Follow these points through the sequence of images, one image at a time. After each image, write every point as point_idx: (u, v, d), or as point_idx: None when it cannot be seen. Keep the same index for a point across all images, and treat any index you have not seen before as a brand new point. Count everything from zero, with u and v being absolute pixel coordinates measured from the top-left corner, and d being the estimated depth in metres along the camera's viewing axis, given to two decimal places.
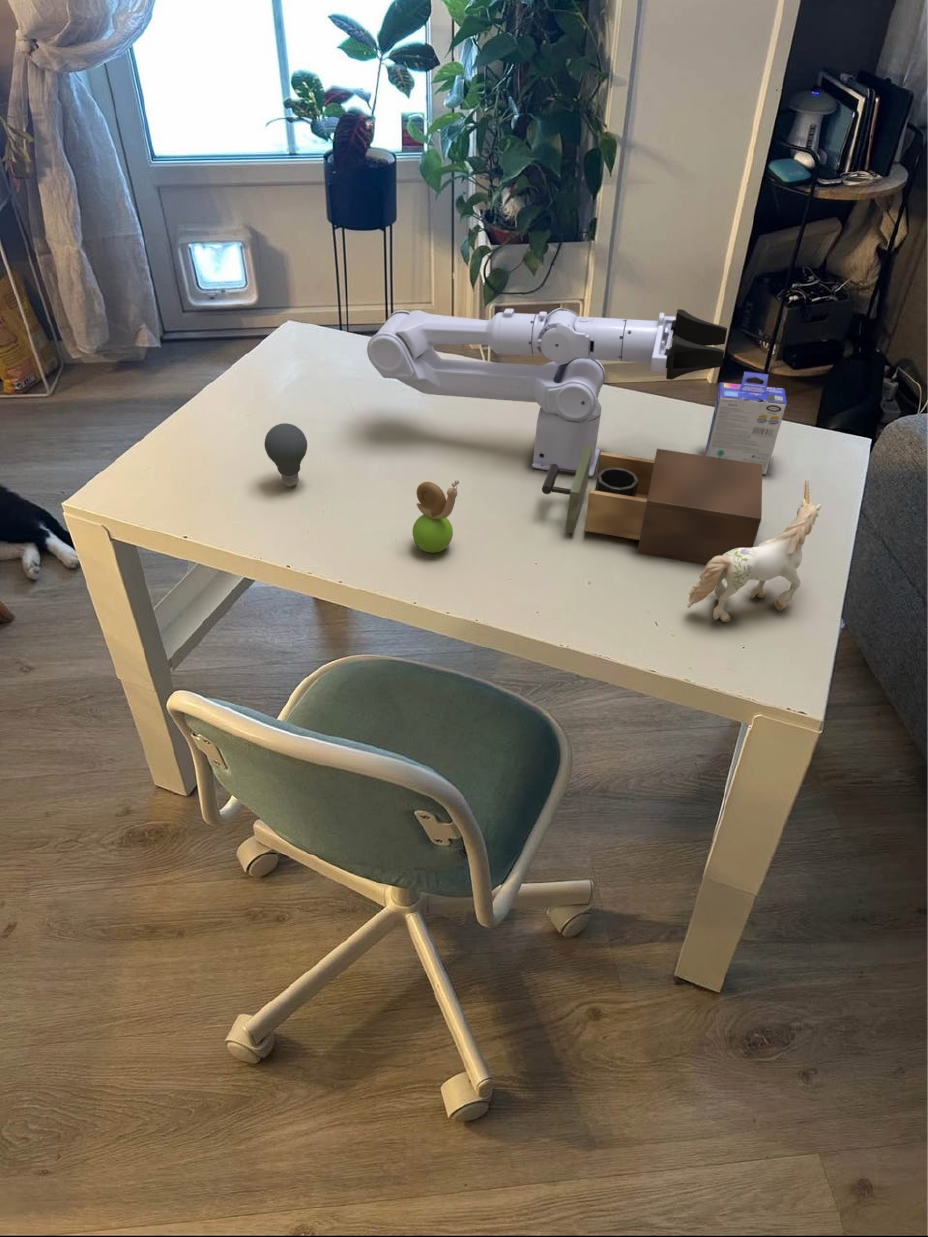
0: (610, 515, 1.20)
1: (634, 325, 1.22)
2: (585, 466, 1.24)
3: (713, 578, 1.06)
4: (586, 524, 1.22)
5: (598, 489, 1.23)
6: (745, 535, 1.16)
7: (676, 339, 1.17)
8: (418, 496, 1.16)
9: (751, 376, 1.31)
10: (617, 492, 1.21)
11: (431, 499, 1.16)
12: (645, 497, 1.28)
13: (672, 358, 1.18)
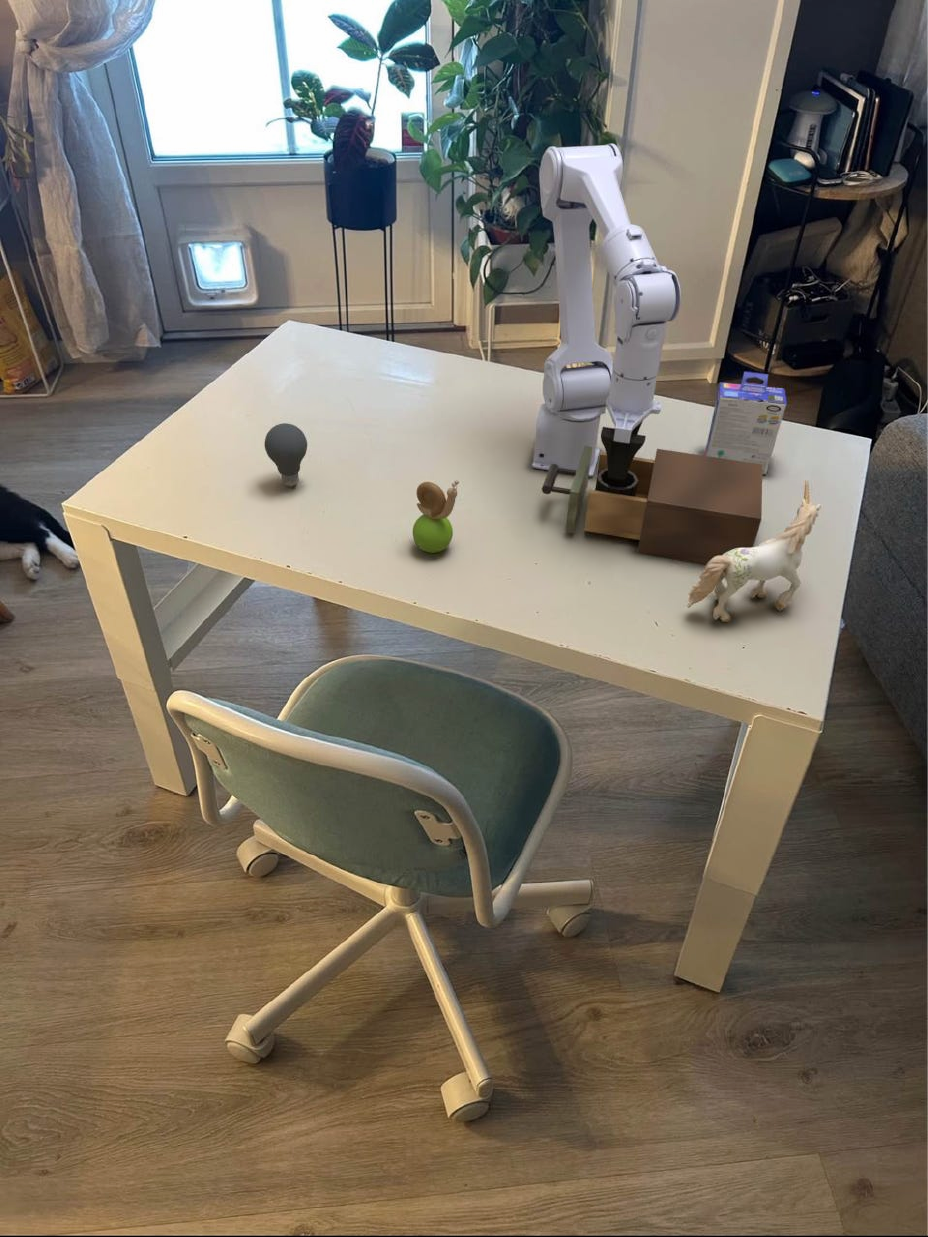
0: (610, 515, 1.20)
1: (653, 385, 1.12)
2: (585, 466, 1.24)
3: (713, 578, 1.06)
4: (586, 524, 1.22)
5: (598, 489, 1.23)
6: (745, 535, 1.16)
7: None
8: (418, 496, 1.16)
9: (751, 376, 1.31)
10: (617, 492, 1.21)
11: (431, 499, 1.16)
12: (645, 497, 1.28)
13: (625, 443, 1.12)
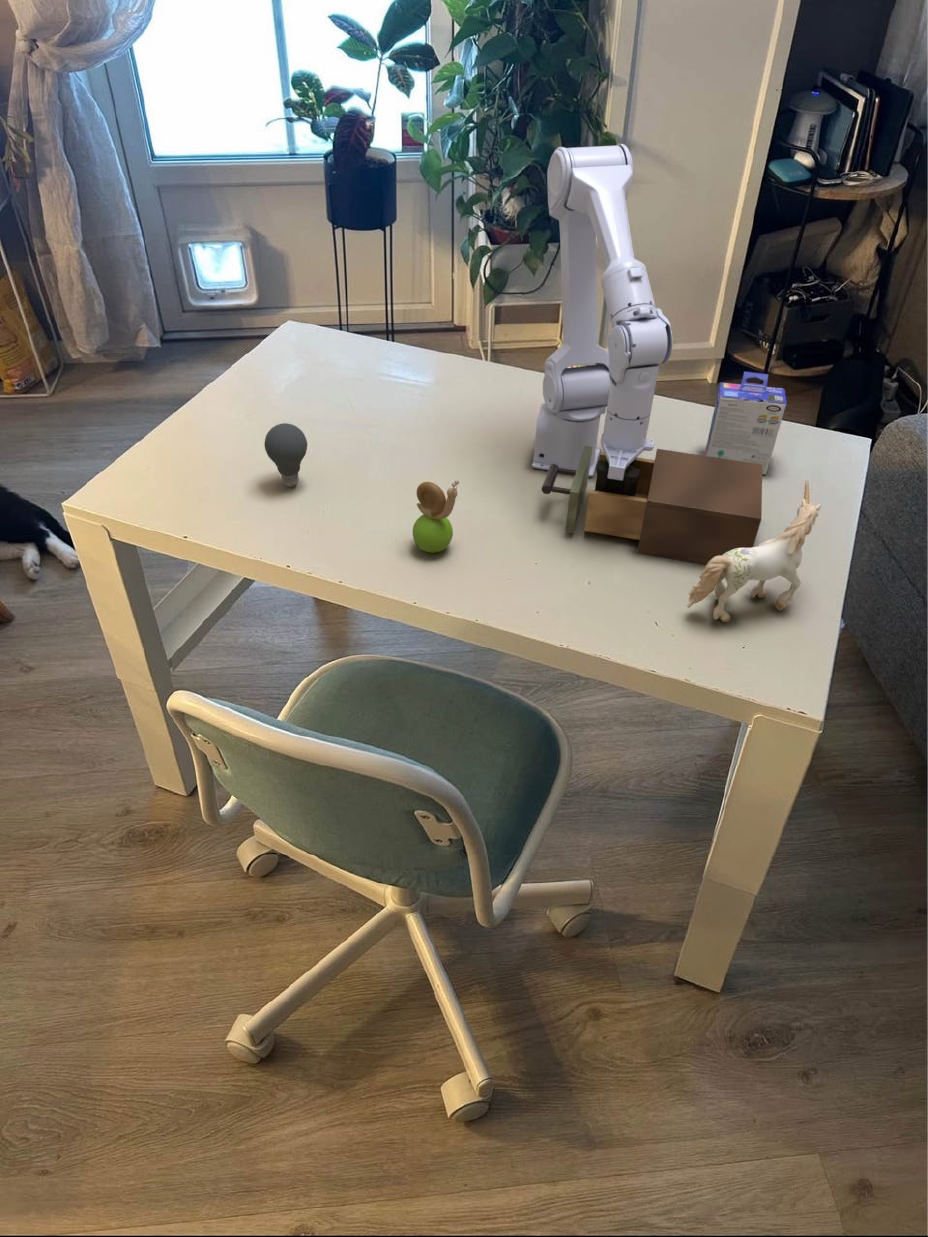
0: (610, 515, 1.20)
1: (646, 424, 1.15)
2: (585, 466, 1.24)
3: (713, 578, 1.06)
4: (586, 524, 1.22)
5: (598, 483, 1.22)
6: (745, 535, 1.16)
7: None
8: (418, 496, 1.16)
9: (751, 376, 1.31)
10: None
11: (431, 499, 1.16)
12: (645, 497, 1.28)
13: None
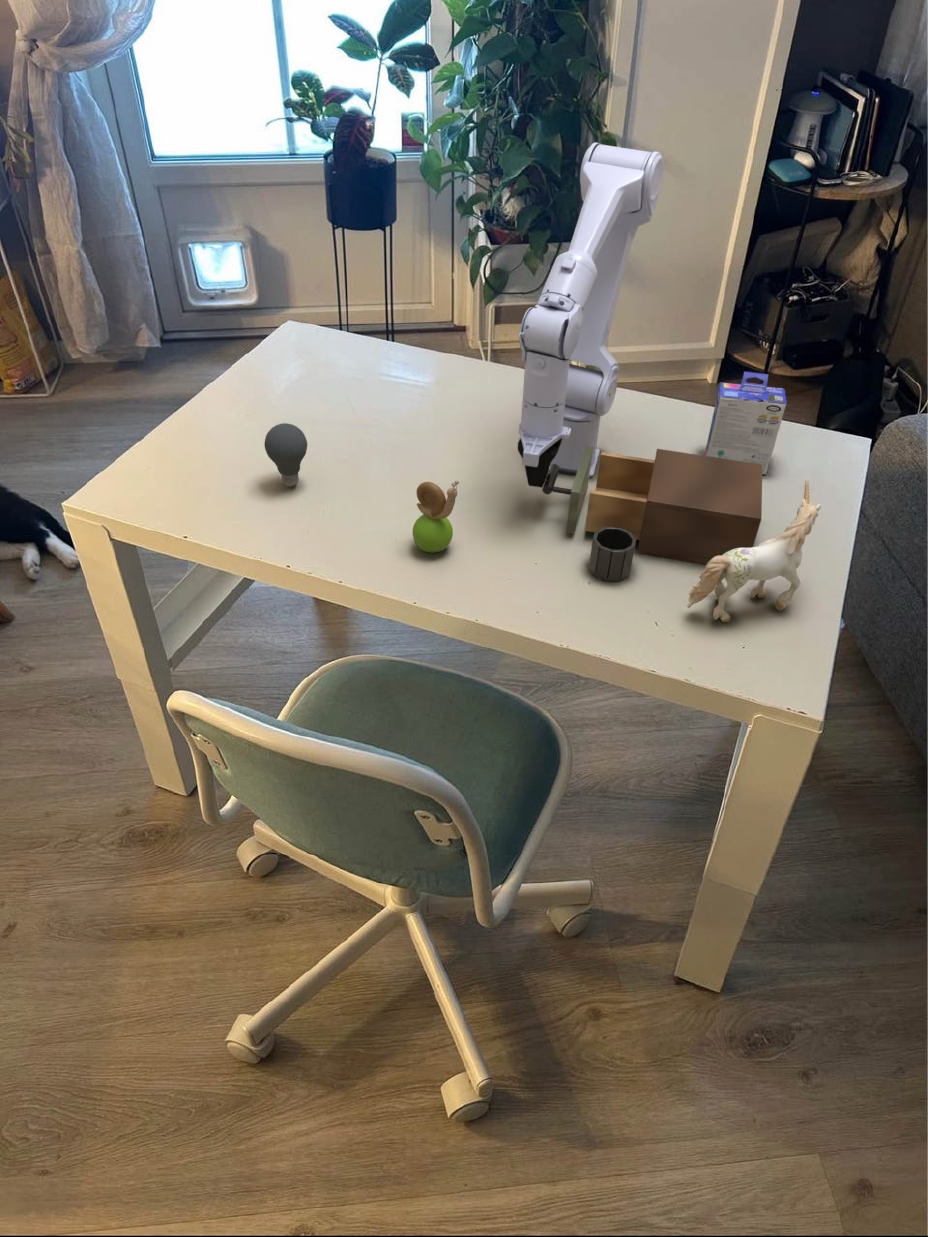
0: (610, 516, 1.20)
1: (561, 412, 1.17)
2: (586, 466, 1.24)
3: (713, 578, 1.06)
4: (587, 524, 1.22)
5: None
6: (745, 535, 1.16)
7: None
8: (418, 496, 1.16)
9: (751, 376, 1.31)
10: None
11: (431, 499, 1.16)
12: (646, 497, 1.28)
13: None
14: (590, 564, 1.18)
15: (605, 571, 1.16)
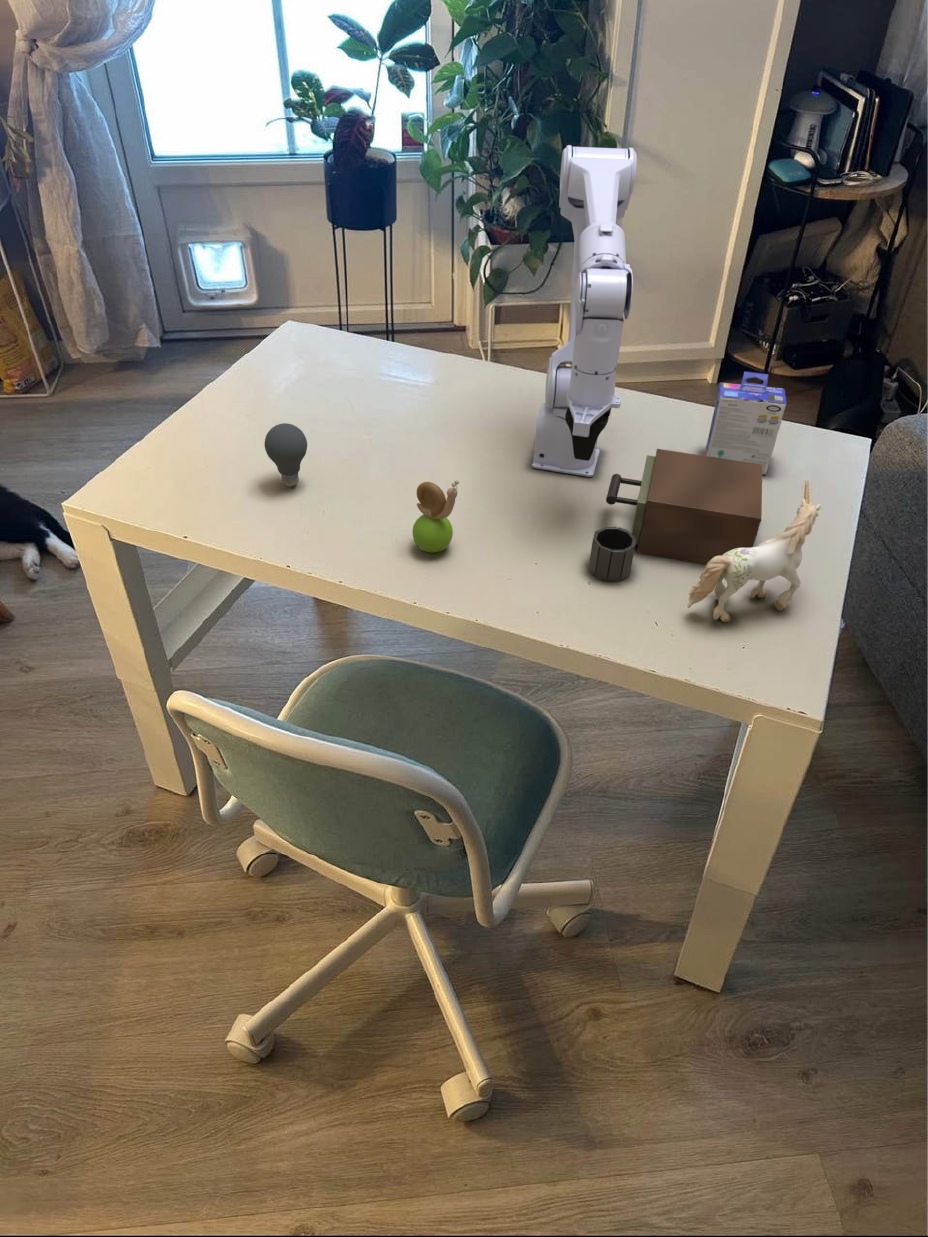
0: None
1: (612, 380, 1.13)
2: (650, 476, 1.22)
3: (713, 578, 1.06)
4: None
5: None
6: (745, 535, 1.16)
7: None
8: (418, 496, 1.16)
9: (751, 376, 1.31)
10: None
11: (431, 499, 1.16)
12: None
13: None
14: (590, 564, 1.18)
15: (605, 571, 1.16)
